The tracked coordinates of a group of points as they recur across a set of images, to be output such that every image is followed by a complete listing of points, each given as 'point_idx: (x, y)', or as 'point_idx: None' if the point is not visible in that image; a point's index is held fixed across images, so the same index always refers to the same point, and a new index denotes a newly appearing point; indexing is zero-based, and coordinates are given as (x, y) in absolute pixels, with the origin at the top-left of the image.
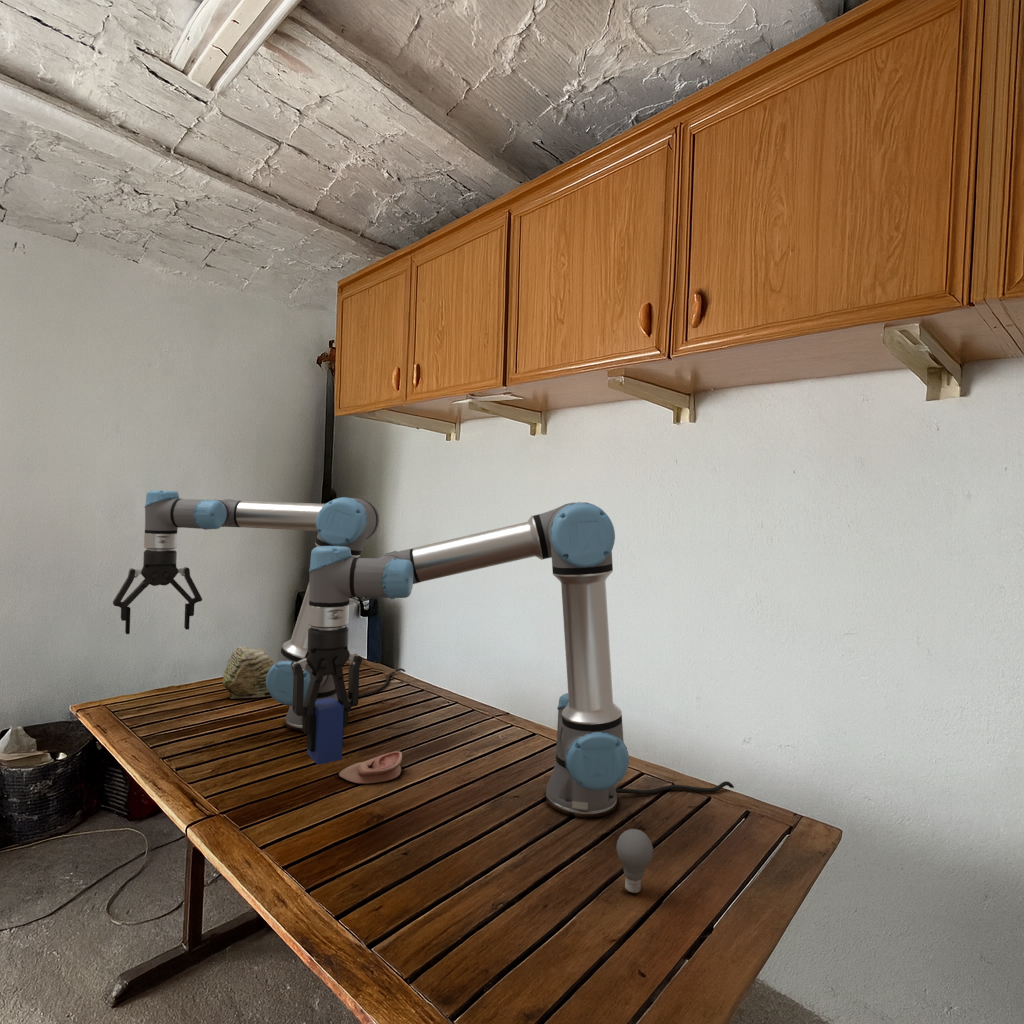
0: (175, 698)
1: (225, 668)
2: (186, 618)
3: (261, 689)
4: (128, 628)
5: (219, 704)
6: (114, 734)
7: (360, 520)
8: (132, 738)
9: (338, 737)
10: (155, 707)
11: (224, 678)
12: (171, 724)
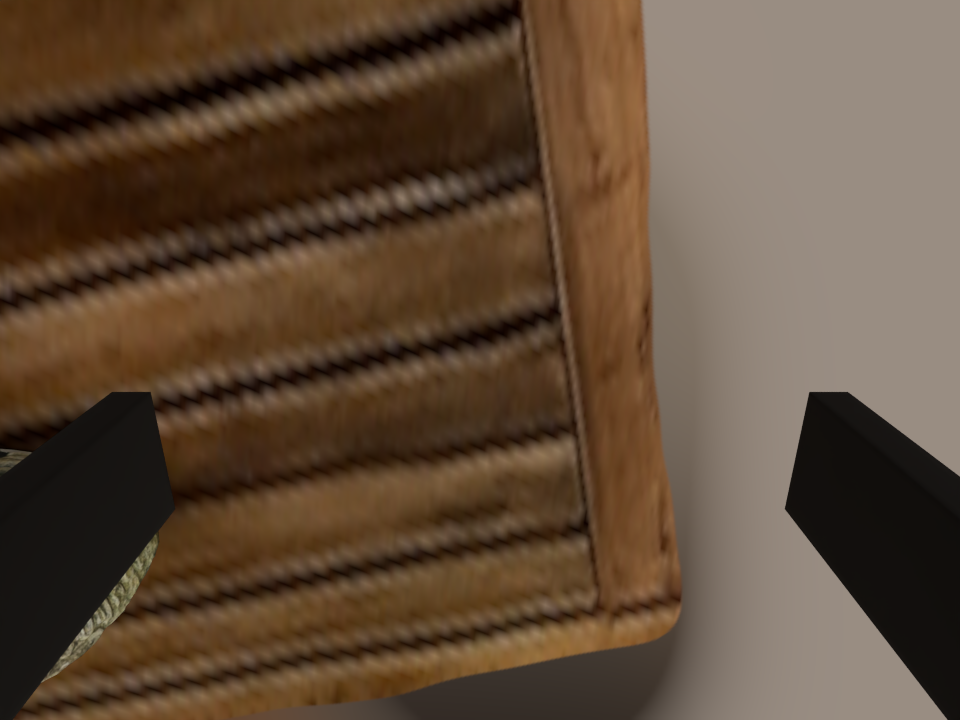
0: (363, 580)
1: (114, 616)
2: (53, 472)
3: (1, 468)
4: (867, 423)
5: (204, 441)
6: (623, 267)
7: None
8: (569, 180)
9: None
10: (442, 511)
11: (139, 556)
12: (407, 281)
